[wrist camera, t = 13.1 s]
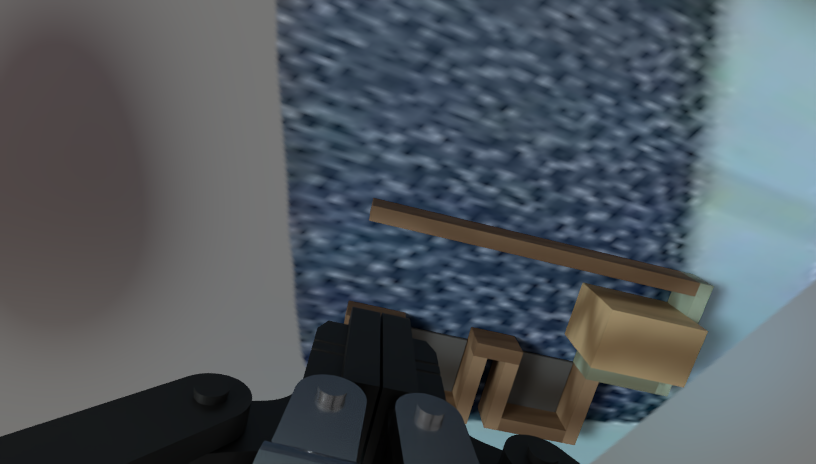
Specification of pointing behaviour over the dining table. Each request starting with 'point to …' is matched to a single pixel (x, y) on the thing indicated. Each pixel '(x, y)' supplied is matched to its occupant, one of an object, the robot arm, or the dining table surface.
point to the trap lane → (513, 368)
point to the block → (634, 335)
